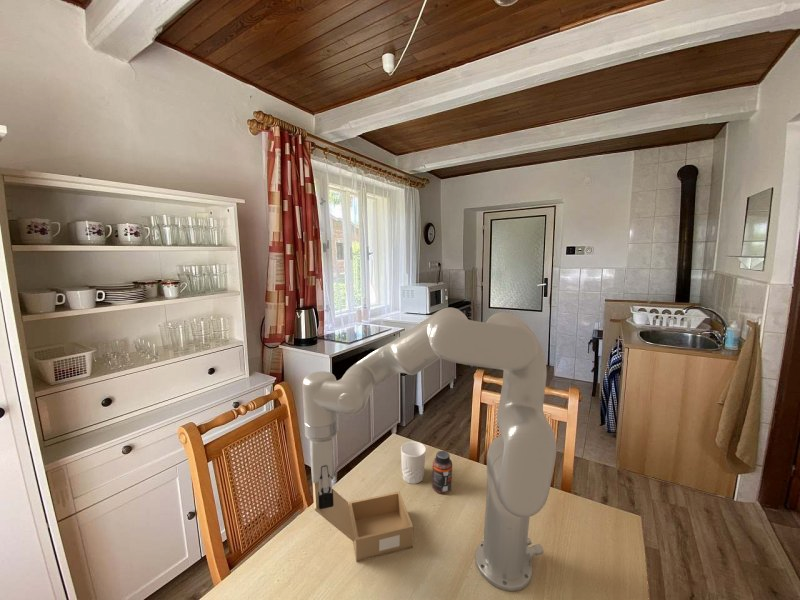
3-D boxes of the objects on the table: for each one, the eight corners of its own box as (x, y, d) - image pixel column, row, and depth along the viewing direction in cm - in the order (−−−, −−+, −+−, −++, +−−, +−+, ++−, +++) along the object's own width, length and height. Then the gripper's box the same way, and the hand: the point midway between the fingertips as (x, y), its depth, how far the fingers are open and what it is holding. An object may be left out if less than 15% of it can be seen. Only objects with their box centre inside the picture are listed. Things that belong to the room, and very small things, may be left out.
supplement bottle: (450, 496, 101) (452, 462, 99) (430, 493, 102) (431, 459, 100) (451, 482, 106) (453, 449, 104) (432, 479, 107) (433, 447, 105)
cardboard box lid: (313, 472, 86) (312, 474, 86) (316, 507, 75) (314, 509, 74) (348, 502, 90) (346, 504, 90) (355, 539, 79) (353, 541, 79)
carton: (399, 510, 95) (399, 491, 94) (412, 547, 84) (413, 526, 83) (349, 521, 91) (349, 502, 90) (356, 562, 80) (356, 540, 79)
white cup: (399, 469, 112) (399, 441, 110) (422, 467, 113) (423, 440, 111) (401, 486, 104) (402, 457, 103) (427, 484, 105) (428, 455, 103)
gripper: (304, 410, 85) (307, 471, 88) (305, 451, 69) (309, 524, 72) (334, 406, 87) (336, 466, 90) (342, 444, 71) (345, 516, 74)
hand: (324, 491), depth 81 cm, fingers open, 9 cm apart
